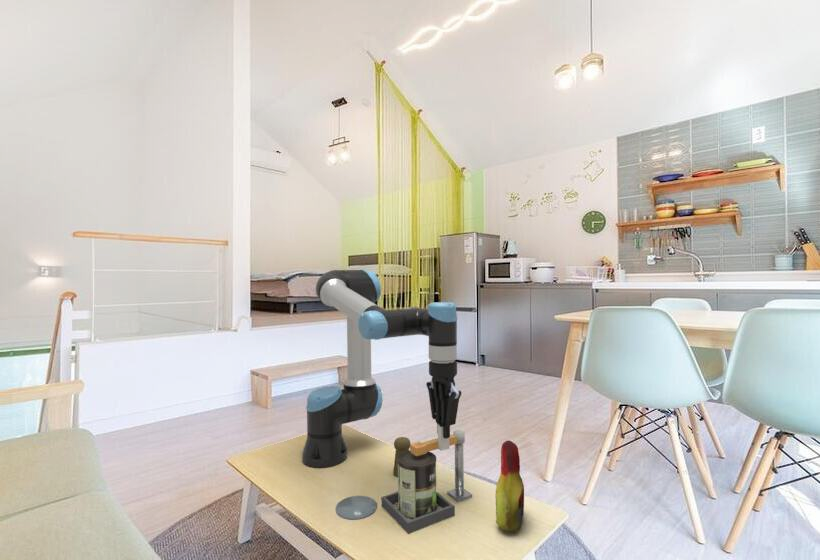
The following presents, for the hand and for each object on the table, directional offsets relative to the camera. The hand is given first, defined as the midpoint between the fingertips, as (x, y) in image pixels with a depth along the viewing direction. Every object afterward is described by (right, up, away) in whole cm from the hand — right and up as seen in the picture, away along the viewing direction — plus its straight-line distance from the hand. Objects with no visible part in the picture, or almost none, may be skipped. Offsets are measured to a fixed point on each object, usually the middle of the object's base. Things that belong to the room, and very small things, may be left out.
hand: (443, 448), depth 108 cm
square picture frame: (-7, -16, -2) cm, 17 cm away
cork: (-11, -16, +19) cm, 28 cm away
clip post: (+5, -16, +6) cm, 17 cm away
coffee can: (-7, -16, -2) cm, 18 cm away
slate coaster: (-23, -16, 0) cm, 28 cm away
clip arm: (-1, 0, +2) cm, 3 cm away
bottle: (+16, -16, -7) cm, 24 cm away
